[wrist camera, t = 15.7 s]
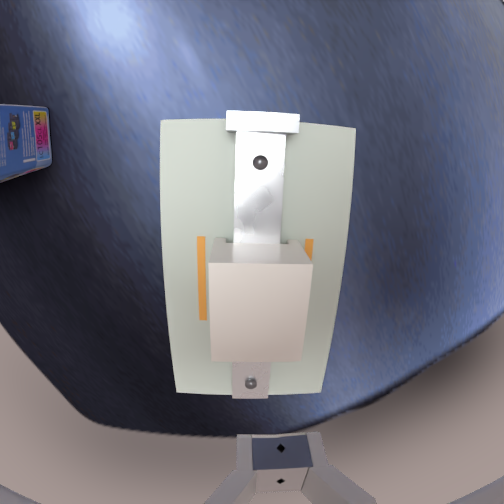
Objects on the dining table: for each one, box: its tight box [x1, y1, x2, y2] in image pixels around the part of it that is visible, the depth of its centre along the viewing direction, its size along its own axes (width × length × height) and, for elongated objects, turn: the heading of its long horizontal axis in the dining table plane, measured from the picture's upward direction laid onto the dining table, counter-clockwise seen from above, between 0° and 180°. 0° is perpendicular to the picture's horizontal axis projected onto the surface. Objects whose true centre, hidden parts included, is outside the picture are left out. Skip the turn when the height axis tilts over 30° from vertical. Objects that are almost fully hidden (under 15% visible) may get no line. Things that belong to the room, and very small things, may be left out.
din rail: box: [226, 111, 300, 398], centre depth 23 cm, size 4×23×3 cm, turn 178°
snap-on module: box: [208, 238, 313, 362], centre depth 22 cm, size 6×7×5 cm
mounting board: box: [160, 119, 356, 395], centre depth 25 cm, size 14×24×1 cm, turn 178°
